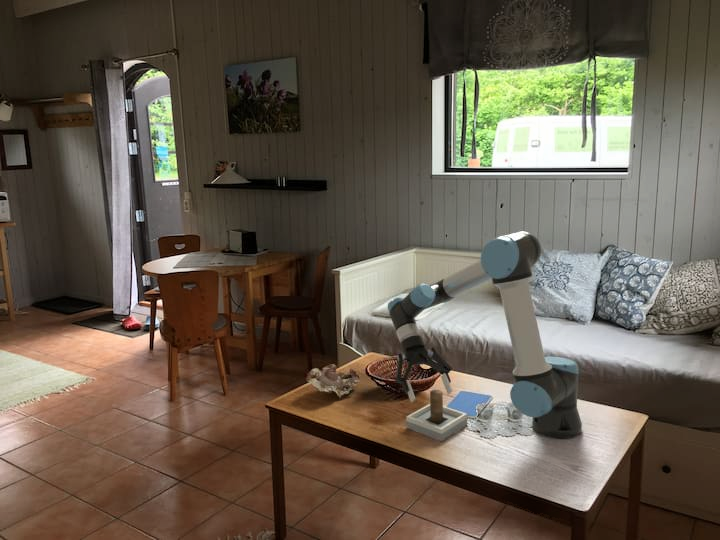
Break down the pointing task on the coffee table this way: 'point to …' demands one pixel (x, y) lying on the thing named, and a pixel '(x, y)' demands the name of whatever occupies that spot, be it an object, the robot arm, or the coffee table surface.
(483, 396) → the blue rectangular panel
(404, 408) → the coffee table surface
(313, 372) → the mineral formation
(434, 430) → the tray
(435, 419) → the peg
